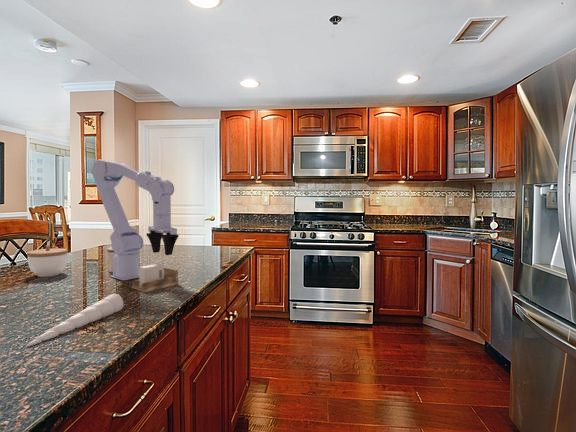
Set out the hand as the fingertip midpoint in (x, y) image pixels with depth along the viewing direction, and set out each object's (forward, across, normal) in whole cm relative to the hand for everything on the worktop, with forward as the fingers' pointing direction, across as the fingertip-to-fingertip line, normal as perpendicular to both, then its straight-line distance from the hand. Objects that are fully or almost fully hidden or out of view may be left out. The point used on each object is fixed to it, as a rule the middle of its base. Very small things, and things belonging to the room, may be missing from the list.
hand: (162, 253), depth 119 cm
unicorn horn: (+10, +22, -34) cm, 42 cm away
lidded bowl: (+10, -43, -21) cm, 49 cm away
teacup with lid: (+10, -30, 0) cm, 32 cm away
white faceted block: (+9, +4, -6) cm, 12 cm away
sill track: (+10, +4, -5) cm, 12 cm away
